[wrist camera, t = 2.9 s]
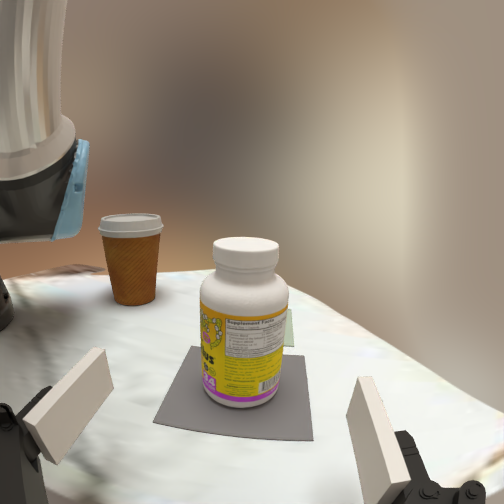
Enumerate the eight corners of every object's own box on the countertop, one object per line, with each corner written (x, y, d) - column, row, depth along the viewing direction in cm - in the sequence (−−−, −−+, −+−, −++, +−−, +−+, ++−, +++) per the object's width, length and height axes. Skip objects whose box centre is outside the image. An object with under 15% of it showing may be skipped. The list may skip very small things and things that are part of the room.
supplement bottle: (204, 364, 28) (203, 232, 25) (272, 365, 28) (284, 235, 25) (200, 411, 21) (194, 252, 18) (283, 410, 22) (302, 255, 19)
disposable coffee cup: (173, 305, 41) (171, 219, 38) (107, 314, 36) (99, 224, 33) (156, 283, 49) (154, 212, 46) (101, 290, 44) (96, 215, 41)
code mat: (153, 422, 19) (152, 421, 19) (191, 346, 31) (191, 345, 31) (313, 440, 18) (313, 439, 18) (304, 356, 30) (304, 355, 30)
